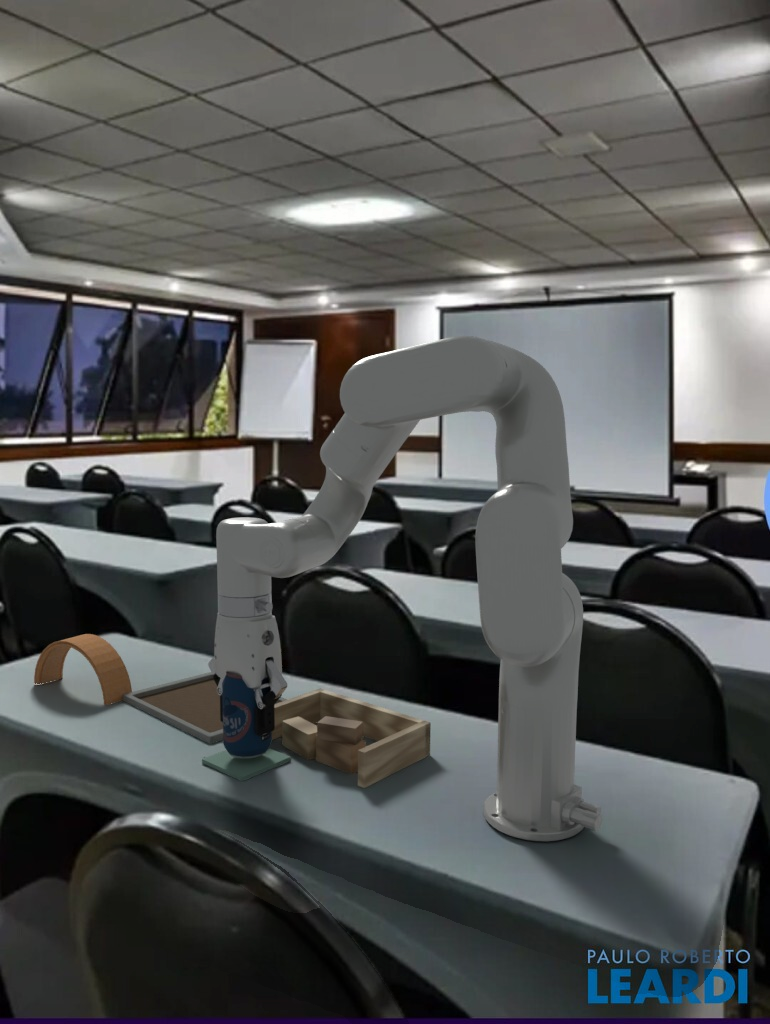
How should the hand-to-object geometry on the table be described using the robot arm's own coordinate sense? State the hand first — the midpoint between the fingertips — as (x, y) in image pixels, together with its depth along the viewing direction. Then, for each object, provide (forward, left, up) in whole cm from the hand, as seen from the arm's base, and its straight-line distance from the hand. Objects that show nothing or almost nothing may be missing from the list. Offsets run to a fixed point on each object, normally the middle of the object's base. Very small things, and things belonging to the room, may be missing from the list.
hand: (247, 725), depth 119 cm
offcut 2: (-10, -8, -6) cm, 15 cm away
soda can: (0, 0, -4) cm, 4 cm away
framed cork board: (+21, -11, -6) cm, 25 cm away
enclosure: (-7, -13, -6) cm, 16 cm away
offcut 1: (-3, -8, -6) cm, 11 cm away
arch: (+47, 0, -6) cm, 47 cm away
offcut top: (-10, -8, -2) cm, 14 cm away
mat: (0, 0, -6) cm, 6 cm away
